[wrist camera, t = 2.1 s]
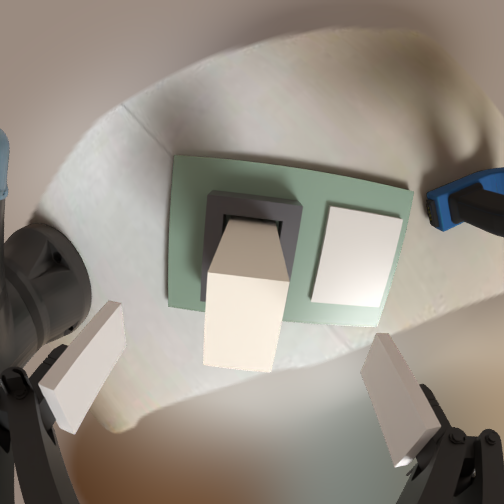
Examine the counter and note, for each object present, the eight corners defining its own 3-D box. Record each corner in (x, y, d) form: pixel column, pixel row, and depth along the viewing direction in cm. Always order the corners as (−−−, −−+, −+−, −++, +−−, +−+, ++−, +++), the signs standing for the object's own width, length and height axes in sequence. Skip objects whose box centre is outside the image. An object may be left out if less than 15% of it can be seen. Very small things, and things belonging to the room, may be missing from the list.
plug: (225, 272, 29) (203, 364, 16) (231, 213, 27) (207, 272, 14) (265, 276, 29) (270, 372, 16) (274, 218, 27) (289, 282, 14)
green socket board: (170, 302, 32) (160, 321, 28) (177, 154, 26) (164, 155, 23) (374, 322, 32) (385, 341, 28) (409, 190, 27) (428, 196, 23)
